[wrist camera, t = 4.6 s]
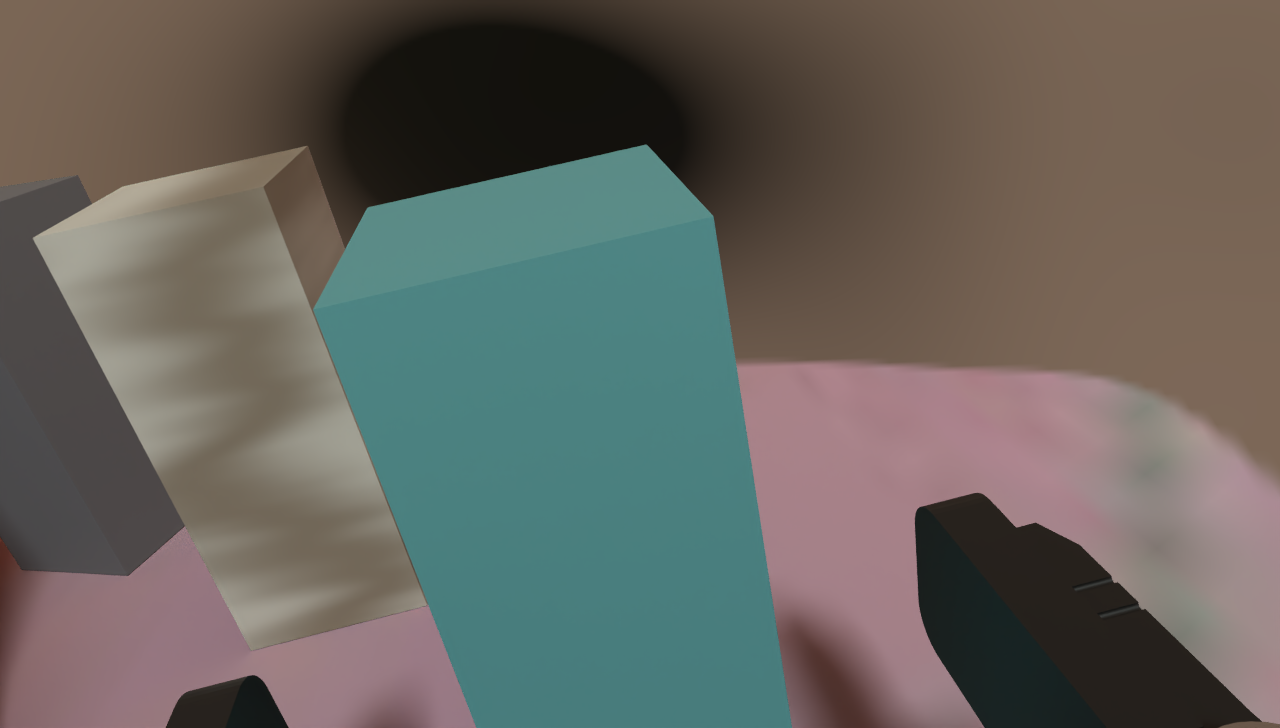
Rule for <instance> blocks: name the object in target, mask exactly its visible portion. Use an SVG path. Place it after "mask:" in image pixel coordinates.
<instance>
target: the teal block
mask: <svg viewBox="0 0 1280 728" xmlns="http://www.w3.org/2000/svg"><path fill="white" fill-rule="evenodd" d="M313 311H314V314H315V316H316V319H317V321H318V324H319V326H320V329H321V331H322V334H323V337H324V339H325V342H326V344H327V347H328V349H329V352H330V354H331V357H332V360H333V362H334V365H335V367H336V370H337V372H338V375H339V377H340V380H341V383H342V385H343V388H344V390H345V393H346V395H347V398H348V400H349V403H350V406H351V408H352V411H353V413H354V416H355V418H356V421H357V423H358V426H359V429H360V431H361V434H362V436H363V439H364V441H365V444H366V446H367V449H368V452H369V454H370V457H371V459H372V462H373V464H374V467H375V469H376V472H377V475H378V477H379V480H380V482H381V485H382V487H383V490H384V492H385V495H386V498H387V500H388V503H389V505H390V508H391V510H392V513H393V515H394V518H395V521H396V523H397V526H398V528H399V531H400V533H401V536H402V538H403V541H404V544H405V546H406V549H407V551H408V554H409V556H410V559H411V561H412V564H413V567H414V569H415V572H416V574H417V577H418V579H419V582H420V584H421V587H422V590H423V592H424V595H425V597H426V600H427V602H428V605H429V607H430V610H431V613H432V615H433V618H434V620H435V623H436V625H437V628H438V630H439V633H440V636H441V638H442V641H443V643H444V646H445V648H446V651H447V653H448V656H449V659H450V661H451V664H452V666H453V669H454V671H455V674H456V676H457V679H458V682H459V684H460V687H461V689H462V692H463V694H464V697H465V699H466V702H467V705H468V707H469V710H470V712H471V715H472V717H473V720H474V722H475V725H476V728H792V725H791V718H790V712H789V705H788V699H787V692H786V686H785V679H784V673H783V666H782V660H781V653H780V647H779V640H778V634H777V627H776V621H775V614H774V608H773V601H772V595H771V588H770V582H769V575H768V569H767V562H766V556H765V549H764V543H763V536H762V530H761V523H760V517H759V510H758V504H757V497H756V491H755V484H754V478H753V471H752V465H751V458H750V452H749V445H748V439H747V432H746V426H745V419H744V413H743V406H742V400H741V393H740V387H739V380H738V374H737V367H736V361H735V354H734V348H733V341H732V335H731V328H730V322H729V316H728V309H727V302H726V296H725V289H724V283H723V276H722V270H721V263H720V257H719V250H718V244H717V237H716V231H715V224H714V218H713V216H712V214H710V212H709V211H708V210H707V209H706V208H705V207H704V206H703V205H702V204H701V203H700V202H699V200H698V199H697V198H696V197H695V196H694V195H693V194H692V193H691V192H690V191H689V190H688V189H687V188H686V187H685V186H684V184H683V183H682V182H681V181H680V180H679V179H678V178H677V177H676V176H675V175H674V174H673V173H672V172H671V171H670V169H669V168H668V167H667V166H666V165H665V164H664V163H663V162H662V161H661V160H660V159H659V158H658V157H657V155H656V154H655V153H654V152H653V151H652V150H651V149H650V148H649V147H648V146H647V145H643V146H639V147H634V148H630V149H626V150H621V151H617V152H612V153H608V154H603V155H599V156H594V157H590V158H586V159H581V160H577V161H573V162H568V163H563V164H559V165H555V166H551V167H546V168H541V169H537V170H532V171H528V172H524V173H519V174H515V175H511V176H506V177H502V178H497V179H493V180H488V181H484V182H479V183H475V184H471V185H466V186H462V187H458V188H453V189H448V190H444V191H440V192H436V193H431V194H427V195H422V196H418V197H413V198H409V199H405V200H400V201H395V202H391V203H387V204H382V205H378V206H373V207H369V208H367V210H366V212H365V214H364V216H363V217H362V219H361V221H360V223H359V225H358V227H357V229H356V230H355V232H354V235H353V236H352V238H351V240H350V242H349V243H348V245H347V247H346V249H345V251H344V253H343V255H342V257H341V258H340V260H339V262H338V264H337V266H336V268H335V270H334V271H333V273H332V275H331V277H330V279H329V281H328V283H327V284H326V286H325V288H324V290H323V292H322V294H321V296H320V297H319V299H318V301H317V303H316V305H315V307H314V309H313Z"/></svg>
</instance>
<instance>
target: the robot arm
mask: <svg viewBox="0 0 1280 728" xmlns="http://www.w3.org/2000/svg"><path fill="white" fill-rule="evenodd" d="M915 534H916V555H917V576H918V597H919V607H920V612H921V617H922V620H923V624H924V627H925V630H926V632H927V635H928V637H929V640H930V642H931V644H932V646H933V648H934V650H935V652H936V653H937V655H938V657H939V658H940V660H941V661H942V663H943V664H944V666H945V667H946V669H947V671H948V672H949V674H950V675H951V677H952V678H953V680H954V681H955V683H956V684H957V686H958V687H959V689H960V690H961V692H962V694H963V695H964V697H965V698H966V700H967V701H968V703H969V704H970V706H971V707H972V709H973V710H974V712H975V713H976V715H977V716H978V718H979V720H980V721H981V723H982V724H983V726H984V727H985V728H1280V724H1274V723H1268V722H1262V721H1261V720H1260V719H1259V718H1257V717H1256V716H1255V715H1254V714H1253V713H1252V712H1251V711H1250V710H1248V709H1247V708H1246V707H1245V706H1244V705H1243V704H1242V703H1241V702H1240V701H1239V700H1238V699H1237V698H1236V697H1235V696H1234V695H1233V694H1232V693H1231V692H1230V691H1229V690H1228V689H1227V688H1226V687H1225V686H1224V685H1223V684H1222V683H1221V682H1220V681H1219V680H1218V679H1217V678H1216V677H1215V676H1214V675H1213V674H1212V673H1210V672H1209V671H1208V670H1207V669H1206V668H1205V667H1204V666H1203V665H1202V664H1201V663H1200V662H1199V661H1198V660H1197V659H1196V658H1195V657H1194V656H1193V655H1192V654H1191V653H1190V652H1189V651H1188V650H1187V649H1186V648H1185V647H1184V646H1183V645H1182V644H1181V643H1180V642H1179V641H1178V640H1177V639H1176V638H1175V637H1173V636H1172V635H1171V634H1170V633H1169V632H1168V631H1167V630H1166V629H1165V628H1164V627H1163V626H1162V625H1161V624H1160V623H1159V622H1158V621H1157V620H1156V619H1155V618H1154V617H1153V616H1152V615H1151V614H1150V613H1149V612H1148V611H1147V610H1146V609H1144V610H1141V608H1140V607H1139V604H1138V601H1137V600H1135V599H1134V598H1133V597H1132V596H1131V595H1130V594H1129V593H1128V592H1127V591H1126V590H1125V589H1124V588H1123V587H1122V586H1121V585H1120V584H1119V583H1118V582H1117V583H1114V582H1113V580H1112V577H1111V575H1110V574H1109V573H1108V572H1107V571H1106V570H1105V569H1104V568H1103V567H1102V566H1101V565H1100V564H1098V563H1097V562H1096V561H1095V560H1094V559H1093V558H1092V557H1091V556H1090V555H1089V554H1088V553H1087V552H1086V551H1085V550H1084V549H1083V548H1082V547H1081V546H1080V545H1079V544H1077V543H1075V542H1073V541H1071V540H1069V539H1067V538H1065V537H1063V536H1061V535H1059V534H1057V533H1055V532H1053V531H1051V530H1049V529H1047V528H1045V527H1043V526H1041V525H1039V524H1037V523H1033V524H1029V525H1025V526H1021V527H1017V528H1016V527H1015V526H1014V525H1013V524H1012V523H1011V522H1010V521H1009V520H1008V519H1007V518H1006V516H1005V515H1004V514H1003V513H1002V512H1001V511H1000V510H999V509H998V508H997V507H996V506H995V505H994V504H993V503H992V502H991V501H990V500H989V499H988V498H987V497H986V496H985V495H983V494H981V493H973V494H969V495H966V496H962V497H958V498H954V499H950V500H946V501H942V502H938V503H934V504H930V505H926V506H922V507H920V508H918V510H917V511H916V515H915ZM166 728H288V726H287V724H286V722H285V720H284V718H283V716H282V714H281V713H280V711H279V709H278V707H277V705H276V703H275V701H274V699H273V697H272V696H271V694H270V692H269V690H268V688H267V686H266V685H265V683H264V682H263V681H262V680H261V679H260V678H259V677H257V676H254V675H252V676H247V677H243V678H239V679H235V680H231V681H227V682H223V683H219V684H215V685H212V686H208V687H204V688H200V689H196V690H192V691H189V692H186V693H185V694H183V695H182V696H181V697H180V699H179V700H178V702H177V704H176V706H175V708H174V710H173V712H172V715H171V717H170V719H169V721H168V724H167V726H166Z"/></svg>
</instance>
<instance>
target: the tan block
mask: <svg viewBox="0 0 1280 728" xmlns="http://www.w3.org/2000/svg"><path fill="white" fill-rule="evenodd" d="M33 240H34V242H35V244H36V245H37V247H38V249H39V251H40V253H41V255H42V257H43V259H44V261H45V262H46V264H47V266H48V268H49V270H50V272H51V274H52V276H53V278H54V279H55V281H56V283H57V285H58V287H59V289H60V291H61V293H62V295H63V296H64V298H65V300H66V302H67V304H68V306H69V308H70V310H71V312H72V313H73V315H74V317H75V319H76V321H77V323H78V325H79V327H80V329H81V330H82V332H83V334H84V336H85V338H86V340H87V342H88V344H89V346H90V347H91V349H92V351H93V353H94V355H95V357H96V359H97V361H98V363H99V364H100V366H101V368H102V370H103V372H104V374H105V376H106V378H107V380H108V381H109V383H110V385H111V387H112V389H113V391H114V393H115V395H116V397H117V398H118V400H119V402H120V404H121V406H122V408H123V410H124V412H125V414H126V415H127V417H128V419H129V421H130V423H131V425H132V427H133V429H134V431H135V432H136V434H137V436H138V438H139V440H140V442H141V444H142V446H143V448H144V449H145V451H146V453H147V455H148V457H149V459H150V461H151V463H152V465H153V466H154V468H155V470H156V472H157V474H158V476H159V478H160V480H161V482H162V483H163V485H164V487H165V489H166V491H167V493H168V495H169V497H170V499H171V500H172V502H173V504H174V506H175V508H176V510H177V512H178V514H179V516H180V517H181V519H182V521H183V523H184V525H185V527H186V529H187V531H188V533H189V534H190V536H191V538H192V540H193V542H194V544H195V546H196V548H197V550H198V551H199V553H200V555H201V557H202V559H203V561H204V563H205V565H206V567H207V568H208V570H209V572H210V574H211V576H212V578H213V580H214V582H215V584H216V585H217V587H218V589H219V591H220V593H221V595H222V597H223V599H224V601H225V602H226V604H227V606H228V608H229V610H230V612H231V614H232V616H233V618H234V619H235V621H236V623H237V625H238V627H239V629H240V631H241V633H242V635H243V636H244V638H245V640H246V642H247V644H248V646H249V648H250V650H251V651H252V650H256V649H260V648H264V647H268V646H272V645H276V644H280V643H283V642H287V641H291V640H295V639H299V638H303V637H307V636H311V635H315V634H318V633H322V632H326V631H330V630H334V629H338V628H342V627H346V626H350V625H353V624H357V623H361V622H365V621H369V620H373V619H377V618H381V617H385V616H388V615H392V614H396V613H400V612H404V611H408V610H412V609H416V608H420V607H423V606H427V603H428V602H427V600H426V597H425V595H424V592H423V590H422V587H421V584H420V582H419V579H418V577H417V574H416V572H415V569H414V567H413V564H412V561H411V559H410V556H409V554H408V551H407V549H406V546H405V544H404V541H403V538H402V536H401V533H400V531H399V528H398V526H397V523H396V521H395V518H394V515H393V513H392V510H391V508H390V505H389V503H388V500H387V498H386V495H385V492H384V490H383V487H382V485H381V482H380V480H379V477H378V475H377V472H376V469H375V467H374V464H373V462H372V459H371V457H370V454H369V452H368V449H367V446H366V444H365V441H364V439H363V436H362V434H361V431H360V429H359V426H358V423H357V421H356V418H355V416H354V413H353V411H352V408H351V406H350V403H349V400H348V398H347V395H346V393H345V390H344V388H343V385H342V383H341V380H340V377H339V375H338V372H337V370H336V367H335V365H334V362H333V360H332V357H331V354H330V352H329V349H328V347H327V344H326V342H325V339H324V337H323V334H322V331H321V329H320V326H319V324H318V321H317V319H316V316H315V314H314V311H313V309H314V307H315V305H316V303H317V301H318V299H319V297H320V296H321V294H322V292H323V290H324V288H325V286H326V284H327V283H328V281H329V279H330V277H331V275H332V273H333V271H334V270H335V268H336V266H337V264H338V262H339V260H340V258H341V257H342V255H343V253H344V251H345V248H344V246H343V243H342V240H341V237H340V234H339V232H338V229H337V226H336V224H335V221H334V218H333V215H332V212H331V209H330V207H329V204H328V201H327V198H326V196H325V193H324V190H323V187H322V185H321V182H320V179H319V176H318V174H317V171H316V168H315V165H314V162H313V159H312V157H311V154H310V151H309V148H308V146H306V147H301V148H296V149H292V150H287V151H283V152H278V153H274V154H269V155H265V156H260V157H255V158H251V159H246V160H242V161H237V162H233V163H228V164H224V165H219V166H214V167H210V168H205V169H201V170H196V171H191V172H187V173H182V174H178V175H173V176H169V177H164V178H160V179H155V180H151V181H146V182H141V183H137V184H132V185H128V186H123V187H121V188H120V189H118V190H116V191H114V192H113V193H111V194H109V195H107V196H106V197H104V198H102V199H100V200H99V201H97V202H95V203H93V204H91V205H90V206H88V207H86V208H84V209H83V210H81V211H79V212H77V213H76V214H74V215H72V216H70V217H69V218H67V219H65V220H63V221H62V222H60V223H58V224H56V225H54V226H53V227H51V228H49V229H47V230H46V231H44V232H42V233H40V234H39V235H37V236H35V237H33Z"/></svg>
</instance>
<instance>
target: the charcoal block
mask: <svg viewBox="0 0 1280 728" xmlns="http://www.w3.org/2000/svg"><path fill="white" fill-rule="evenodd" d="M91 204H92V203H91V201H90V199H89V197H88V195H87V193H86V191H85V189H84V187H83V185H82V183H81V181H80V179H79V177H78V175H76V176H69V177H63V178H56V179H50V180H43V181H36V182H30V183H24V184H17V185H11V186H3V187H0V537H1V539H2V540H3V542H4V543H5V545H6V546H7V548H8V549H9V551H10V552H11V554H12V555H13V557H14V559H15V560H16V562H17V563H18V565H19V566H20V568H21V569H22V570H37V571H55V572H72V573H90V574H108V575H126V576H128V575H129V574H130V573H132V572H133V571H134V570H135V569H136V568H137V567H138V566H139V565H141V564H142V563H143V562H144V561H145V560H146V559H147V558H149V557H150V556H151V555H152V554H153V553H154V552H155V551H157V550H158V549H159V548H160V547H161V546H162V545H163V544H165V543H166V542H167V541H168V540H169V539H170V538H171V537H173V536H174V535H175V534H176V533H177V532H178V531H179V530H180V529H182V528H183V527H184V526H185V525H184V523H183V521H182V519H181V517H180V516H179V514H178V512H177V510H176V508H175V506H174V504H173V502H172V500H171V499H170V497H169V495H168V493H167V491H166V489H165V487H164V485H163V483H162V482H161V480H160V478H159V476H158V474H157V472H156V470H155V468H154V466H153V465H152V463H151V461H150V459H149V457H148V455H147V453H146V451H145V449H144V448H143V446H142V444H141V442H140V440H139V438H138V436H137V434H136V432H135V431H134V429H133V427H132V425H131V423H130V421H129V419H128V417H127V415H126V414H125V412H124V410H123V408H122V406H121V404H120V402H119V400H118V398H117V397H116V395H115V393H114V391H113V389H112V387H111V385H110V383H109V381H108V380H107V378H106V376H105V374H104V372H103V370H102V368H101V366H100V364H99V363H98V361H97V359H96V357H95V355H94V353H93V351H92V349H91V347H90V346H89V344H88V342H87V340H86V338H85V336H84V334H83V332H82V330H81V329H80V327H79V325H78V323H77V321H76V319H75V317H74V315H73V313H72V312H71V310H70V308H69V306H68V304H67V302H66V300H65V298H64V296H63V295H62V293H61V291H60V289H59V287H58V285H57V283H56V281H55V279H54V278H53V276H52V274H51V272H50V270H49V268H48V266H47V264H46V262H45V261H44V259H43V257H42V255H41V253H40V251H39V249H38V247H37V245H36V244H35V242H34V240H33V237H35V236H37V235H39V234H40V233H42V232H44V231H46V230H47V229H49V228H51V227H53V226H54V225H56V224H58V223H60V222H62V221H63V220H65V219H67V218H69V217H70V216H72V215H74V214H76V213H77V212H79V211H81V210H83V209H84V208H86V207H88V206H90V205H91Z"/></svg>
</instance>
